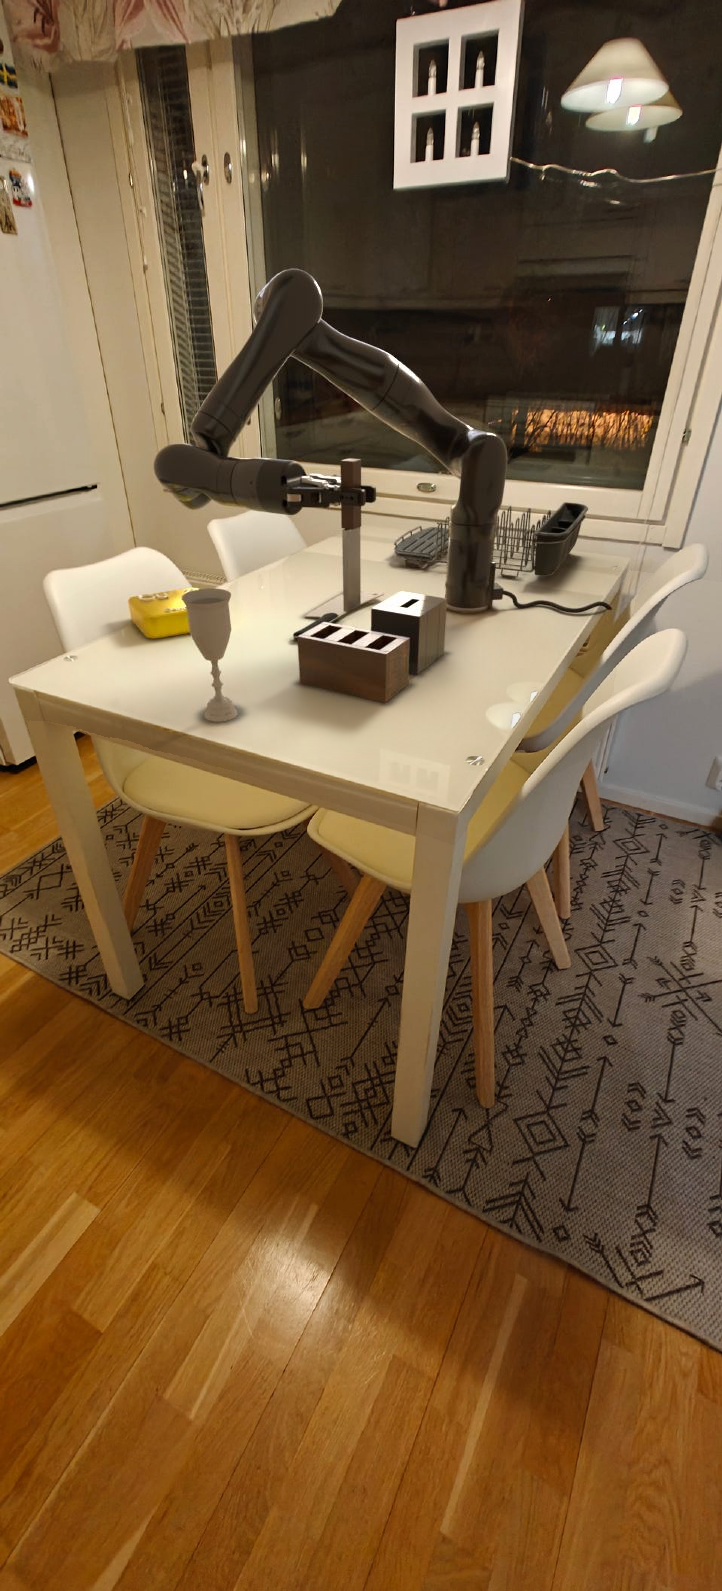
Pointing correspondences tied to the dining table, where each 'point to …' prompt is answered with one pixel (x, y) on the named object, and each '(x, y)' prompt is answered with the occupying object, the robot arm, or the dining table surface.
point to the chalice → (211, 641)
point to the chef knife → (351, 537)
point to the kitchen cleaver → (333, 610)
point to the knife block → (414, 625)
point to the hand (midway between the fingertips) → (369, 496)
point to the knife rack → (354, 661)
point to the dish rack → (549, 544)
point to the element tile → (160, 613)
